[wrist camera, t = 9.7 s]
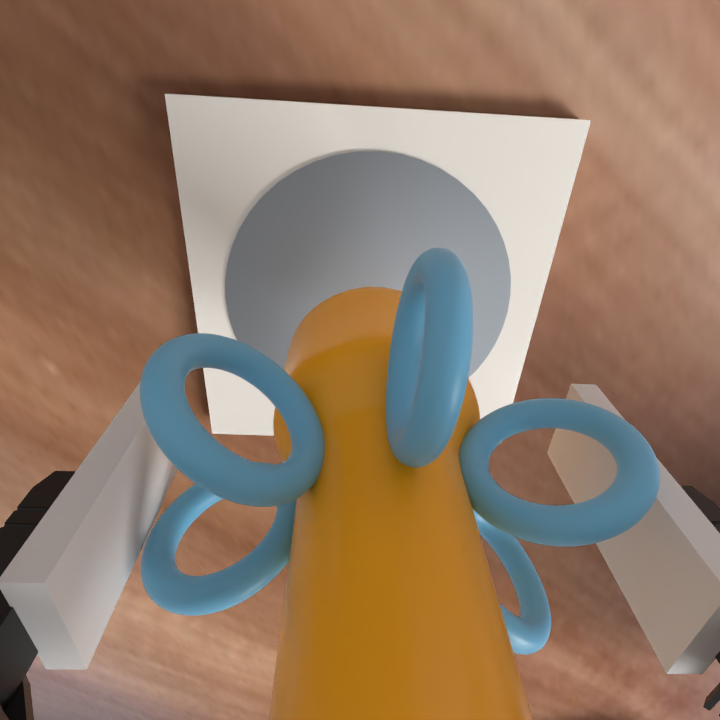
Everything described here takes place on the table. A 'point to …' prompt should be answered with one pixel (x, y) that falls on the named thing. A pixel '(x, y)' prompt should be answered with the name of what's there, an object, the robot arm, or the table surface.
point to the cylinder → (382, 505)
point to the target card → (363, 222)
